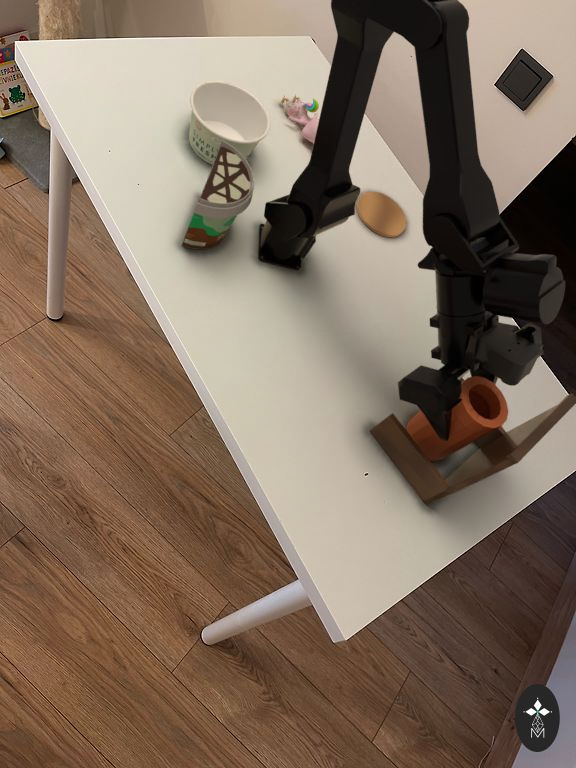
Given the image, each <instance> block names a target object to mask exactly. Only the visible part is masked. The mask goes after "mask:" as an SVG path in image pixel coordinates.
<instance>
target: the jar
mask: <svg viewBox="0 0 576 768" xmlns="http://www.w3.org/2000/svg"><path fill="white" fill-rule="evenodd" d="M461 385H462V392H461V394H460V397H459V398H460V399H462V401H461V402H460V403H459V404H457V405H456V406H455V407H454V408H453V409H452V416H451V428H450V435H449V440H447V441H444V440H442V439H440V438H439V437H438V435H437V434H436V432H435V431H434V429H433V427H432V426H431V424H430V423H429V421H428V420H427V418H426V417H425V415H424V414H423V412H422V411H421V410H420V411H419V412H418V413H416V414H415V415H414V416H412V417H411V418H410V419H409V421H408V423H407V425H406V431H407V432H408V433H409V434H410V436H411V437H412V438H413V440H414V441H415V442H416V443H417V445H418V446H419V447H420V449H421V450H422V451H423V452H424V454H425V455H426V456H427V458H428V459H429V460H430V461H431V462H438V461H441V460H443V459H446V458H447V457H449V456H451V455H453V454H455V453H456V452H458V451H460V450H462V449H463V448H465V447H467V446H469V445H471V444H473V443H474V442H475V441H476V440H478V439H479V438H481V437H483V436H485V435H487V434H488V433H490V432H492V431H494V430H495V429H497V428H499V427H501V426H502V427H503V425H504V424H505V423H506V422H507V420H508V415H509V408H508V403H507V400H506V397H505V395H504V394H503V392H502V390H501V389H500V388H499V387H498V386H497V384H496V385H495V384H494V383H493V382H491V381H489V380H488V379H486V378H484V377H479V376H473V377H471V376H470V377H467V378H466V379H464V381H463V382H461Z"/></svg>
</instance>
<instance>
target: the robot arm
mask: <svg viewBox="0 0 576 768" xmlns="http://www.w3.org/2000/svg"><path fill="white" fill-rule="evenodd" d="M330 9H331V14H332V16H333V22H334V26H335V30H336V34H337V35H336V36H337V37H336V43H335V46H334V51H333V56H332V61H331V65H330V68H329V69H330V70H329V75H328V78H327V83H326V86H325V87H326V88H325V92H324V96H323V100H322V106H321V110H320V114H319V117H318V119H319V122H318V127H317V131H316V136H315V140H314V144H313V143H312V149H311V154H310V159H309V161H308V163H307V165H306V166H305V168H304V169H303V171H302V172H301V173H300V175H299V176H298V177H297V179H295V181H294V183H293V184H292V186H291V189H290V192H289V194H286V195H284V196H280V197H277V198H275V199H273V200H270V201H267V202H265V205H264V213H263V217H264V218H265V220H266V221H265V223H260V224H259V225H258V235H257V236H258V238H257V259H258V260H259V261H261V262H264V263H267V264H272V265H276V266H279V267H283V268H287V269H290V270H295V271H301V269H302V260H305V259H306V257H307V256H308V254H309V253H310V251H311V249H312V248H313V247H314V245H315V244H316V242H317V235H320V234H322V233H324V232H327V231H329V230H331V229H333V228H336V227H339V226H340V225H342V224H345V223H347V221H348V220H349V218H350V217H352V216H355V215H356V209H355V208H356V204H357V201H358V198H359V196H360V194H361V187H359V186H357V185H355V184H353V181H352V177H351V173H350V167H351V163H352V159H353V156H354V151H355V150H356V149H355V148H356V146H357V141H358V138H359V135H360V131H361V127H362V124H363V121H364V117H365V114H366V110H367V107H368V102H369V100H370V96H371V92H372V88H373V85H374V81H375V77H376V74H377V72H378V71H377V70H378V67H379V64H380V60H381V56H382V52H383V50H384V48H385V45H386V44H387V42H388V41H389V40H390V38H391V37H392V36H393V34H394V33H395V34H397V35H399V36H401V37H402V38H403V39H405V40H406V41H407V42H408V43H410V45H411V46H412V47H413V49H414V57H415V63H416V72H417V79H418V86H419V94H420V102H421V109H422V110H421V111H422V118H423V125H424V133H425V140H426V149H427V157H428V165H429V168H428V169H429V173H428V174H429V175H428V180H427V184H426V187H425V191H424V194H423V197H422V225H421V226H422V235H423V237H424V240H425V242H426V244H427V245H428V246H429V247H431V248H430V249H429V251H428V253H427V254H426V255H425V256H424V257H423V258H422V259H421V260H420V261H419V262H417V267H418V268H419V269H421V270H429V271H433V272H434V273H435V277H434V278H435V299H436V301H435V302H436V313H435V314H434V315H433V316H431V317H430V318H429V327H430V328H435V329H437V342H438V343H437V346H435V347H433V348H432V349H431V350H430V358H431V359H435V360H438V361H440V363H441V364H442V365H443V366H441V367H440V368H439V369H436V368H432V367H429V366H425V365H419V366H418V367H417V368H415V369H414V370H412V371H411V372H409V373H407V374H406V375H405V376H404V377H403V378H401V379H400V380H399V381H397V389H398V390H397V391H398V398H399V399H398V400H400V401H402V402H405V403H409V404H412V405H414V406H416V407H417V408H418V409H419V410H420V411H422V412H423V414H424V415H425V417H426V418H427V420H428V421H429V423H430V424H431V426H432V427H433V429H434V431H435V432H436V434H437V435H438V437H439V438H440V439H442V440H444V441H447V440H449V435H450V428H451V416H452V409H453V408H454V407H455V406H456V405H457V404H459V403H460V402H461V401H462V399H460V398H459V397H460V394H461V392H462V385H461V382H460V381H459V379H460V378H463V377H464V376H465V375H466V374H468V373H469V374H470V377H473V376H479V377H484V378H486V379H488V380H489V381H491V382H493V383H494V384H495V385H496V386H497V383H498V379H500V381H501V382H502V383H503V384H505V385H507V386H517V385H519V383H520V382H521V381H522V380H523V379H525V377H528V375H530V374H531V373H532V371H533V368H534V366H535V364H536V362H537V361H538V359H539V358H540V357H541V356H542V355H543V354H544V349H543V347H544V344H543V339H542V328H541V327H539V326H538V325H536V324H537V323H538V324H542V325H550V323H552V322H553V321H554V320H555V319H556V317H557V315H558V313H559V312H560V309H561V307H562V304H563V302H564V296H565V291H566V280H564V276H563V271H562V270H561V268H559V267H558V266H557V256H556V255H555V254H547V253H544V254H543V253H542V254H529V253H528V254H527V253H517V252H516V251H518V250H519V249H520V245H519V243H518V241H517V240H516V238H515V237H514V235H513V234H512V233H511V231H510V230H509V228H508V226H507V225H506V224H505V222H504V220H503V219H502V217H501V216H500V209H499V204H498V201H497V197H496V193H495V189H494V185H493V182H492V180H491V179H490V177H489V175H488V174H487V172H486V170H485V169H484V167H483V166H482V162H481V159H480V155H479V148H478V135H477V127H476V116H475V105H474V96H473V95H474V94H473V86H472V85H473V84H472V75H471V74H472V73H471V65H470V54H469V43H468V33H467V32H468V30H469V27H470V15H469V12H468V9H467V8H466V6H464V4H463V3H462V2H460V1H459V0H330ZM483 241H486V242H487V243H488V244H487V245H485V246H484V247H481V248H480V249H478V250H476V251H475V249H474V248H473V247H474V246H476V245H478V244H479V243H481V242H483ZM500 317H503V318H510V319H515V320H521V321H526V322H529V323H526V324H525V325H524V326H523V327H521V328H520V327H519V326H518V325H515V324H509V323H505V322H500ZM534 323H536V324H534Z"/></svg>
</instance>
